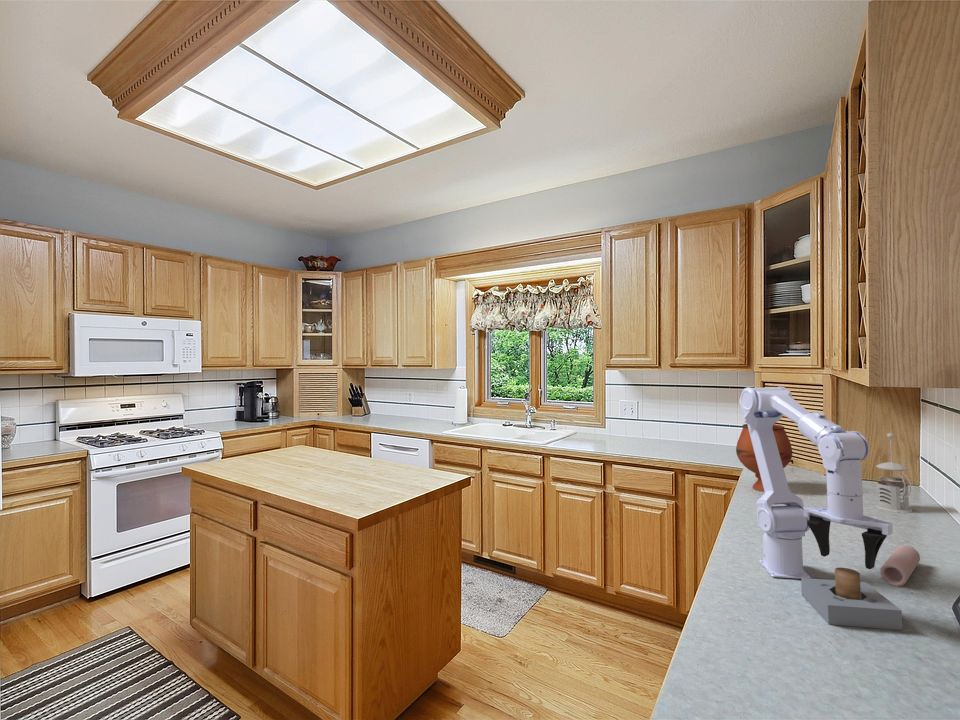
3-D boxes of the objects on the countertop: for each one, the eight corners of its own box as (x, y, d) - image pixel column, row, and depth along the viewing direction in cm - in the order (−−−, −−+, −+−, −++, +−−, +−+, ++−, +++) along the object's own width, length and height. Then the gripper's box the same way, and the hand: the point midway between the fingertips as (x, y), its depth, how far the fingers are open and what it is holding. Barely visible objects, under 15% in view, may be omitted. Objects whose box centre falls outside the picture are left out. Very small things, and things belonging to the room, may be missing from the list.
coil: (894, 542, 121) (877, 563, 110) (919, 545, 118) (904, 567, 106) (897, 562, 121) (881, 584, 109) (922, 565, 117) (908, 589, 106)
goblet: (743, 494, 184) (741, 427, 184) (732, 482, 202) (730, 421, 202) (801, 496, 178) (799, 428, 178) (785, 484, 196) (783, 422, 197)
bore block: (801, 594, 104) (801, 578, 104) (866, 599, 102) (865, 582, 102) (828, 624, 93) (827, 605, 93) (902, 630, 90) (901, 610, 90)
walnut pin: (832, 601, 100) (831, 566, 100) (854, 603, 99) (853, 568, 99) (841, 611, 96) (840, 575, 96) (865, 612, 95) (864, 576, 95)
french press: (898, 504, 166) (895, 431, 166) (925, 515, 154) (922, 435, 155) (867, 504, 167) (864, 431, 167) (892, 514, 155) (889, 436, 156)
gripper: (795, 488, 101) (797, 554, 101) (880, 504, 89) (883, 579, 89) (811, 483, 105) (813, 546, 105) (895, 498, 93) (898, 569, 93)
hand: (846, 561), depth 97 cm, fingers open, 7 cm apart
